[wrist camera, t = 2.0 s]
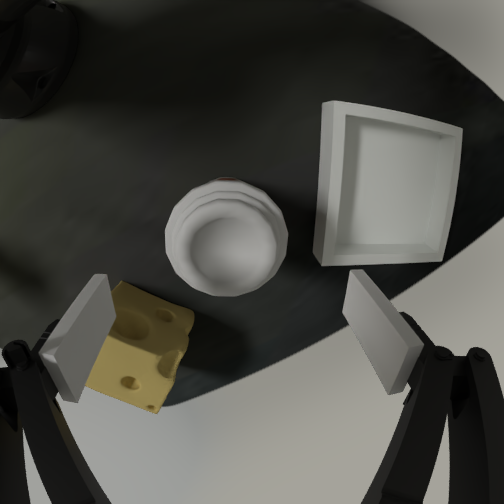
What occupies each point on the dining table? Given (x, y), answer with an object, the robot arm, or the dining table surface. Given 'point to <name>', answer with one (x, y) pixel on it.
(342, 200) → the white square tray
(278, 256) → the coffee cup
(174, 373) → the cheese
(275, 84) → the dining table surface
